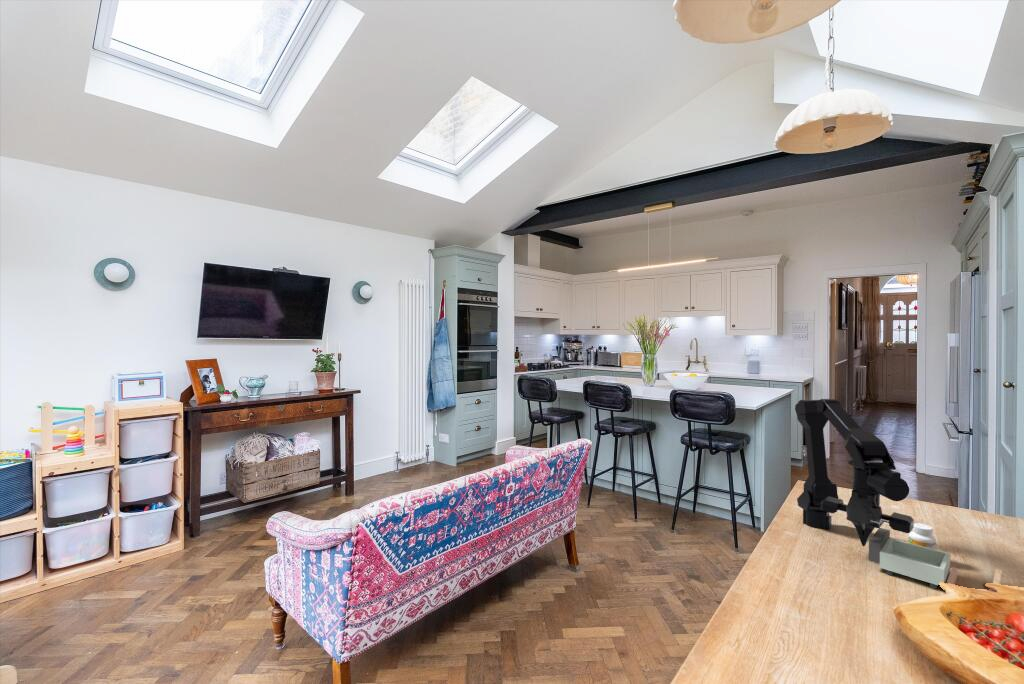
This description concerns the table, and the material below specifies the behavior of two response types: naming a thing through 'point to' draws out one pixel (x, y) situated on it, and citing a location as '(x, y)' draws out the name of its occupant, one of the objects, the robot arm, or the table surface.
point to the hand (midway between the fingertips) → (863, 545)
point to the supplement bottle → (922, 536)
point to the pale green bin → (909, 558)
